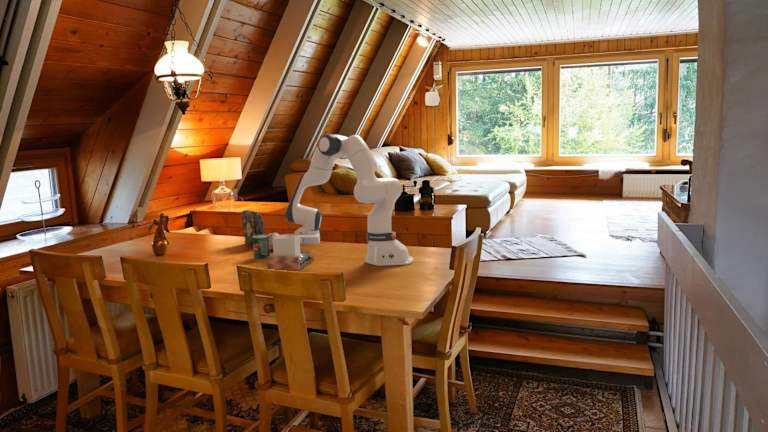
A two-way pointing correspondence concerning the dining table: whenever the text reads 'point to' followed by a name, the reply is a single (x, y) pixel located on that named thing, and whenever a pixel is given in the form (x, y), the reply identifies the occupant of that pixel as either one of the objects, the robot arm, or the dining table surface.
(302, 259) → the rollers
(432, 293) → the dining table surface
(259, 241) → the canned tomato
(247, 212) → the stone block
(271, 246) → the decorative fruit
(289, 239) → the pale grey cube
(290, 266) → the roller bed
